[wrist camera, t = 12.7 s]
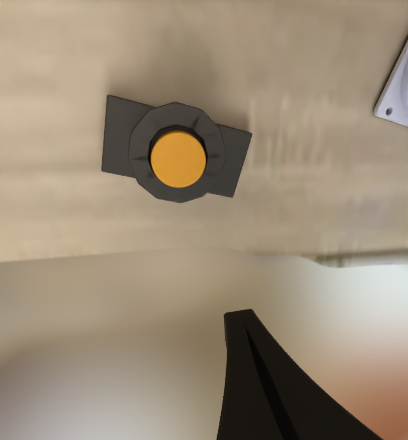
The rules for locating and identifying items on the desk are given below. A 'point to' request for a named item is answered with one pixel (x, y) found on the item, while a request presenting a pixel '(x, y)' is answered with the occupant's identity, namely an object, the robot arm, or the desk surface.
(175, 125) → the base
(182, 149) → the button
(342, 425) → the robot arm
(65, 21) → the desk surface
